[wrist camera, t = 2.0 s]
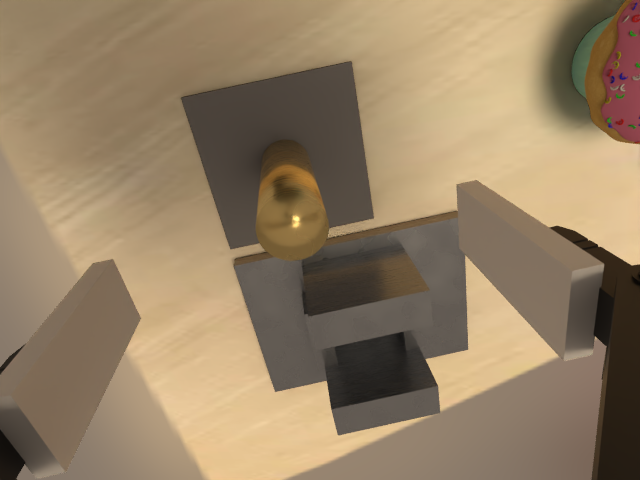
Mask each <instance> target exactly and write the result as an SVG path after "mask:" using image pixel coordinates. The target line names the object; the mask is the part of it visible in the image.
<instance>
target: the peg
mask: <svg viewBox="0 0 640 480" xmlns="http://www.w3.org/2000/svg"><path fill="white" fill-rule="evenodd" d="M328 232H329V222H328V218H327V214H326V211H325V208H324V205H323V201H322V198H321V195H320V191H319V188H318V185H317V182H316V178H315V175H314V172H313V169H312V165H311V162H310V159H309V155H308V153H307V151H306V150H305V148H304V147H303V146H302V145H300V144H299V143H297V142H295V141H293V140H287V139H284V140H279V141H276V142H274V143H272V144H271V145H270V146H269V147H268V148H267V149H266V150H265V152H264V154H263V157H262V165H261V176H260V187H259V197H258V208H257V218H256V235H257V238H258V241H259V243H260V244H261V246H262V247H263V248H264V249H265V251H267V252H268V253H269V254H270V255H272V256H274V257H276V258H278V259H282V260H287V261H296V260H302V259H305V258H308V257H310V256H312V255H313V254H315V253H316V252H317V251H318V250H319V249H320V248H321V247H322V246H323V244H324V243H325V241H326V239H327V236H328Z"/></svg>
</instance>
